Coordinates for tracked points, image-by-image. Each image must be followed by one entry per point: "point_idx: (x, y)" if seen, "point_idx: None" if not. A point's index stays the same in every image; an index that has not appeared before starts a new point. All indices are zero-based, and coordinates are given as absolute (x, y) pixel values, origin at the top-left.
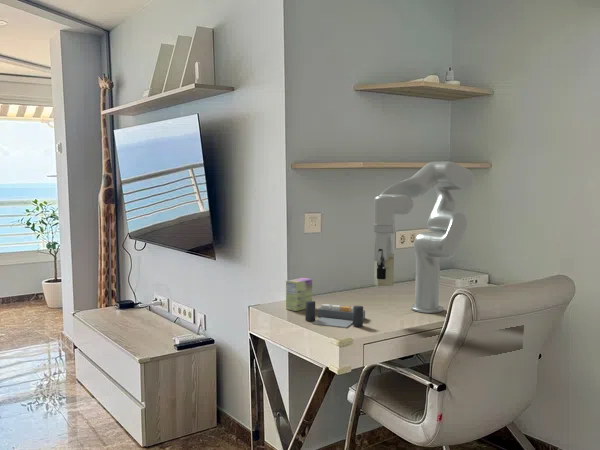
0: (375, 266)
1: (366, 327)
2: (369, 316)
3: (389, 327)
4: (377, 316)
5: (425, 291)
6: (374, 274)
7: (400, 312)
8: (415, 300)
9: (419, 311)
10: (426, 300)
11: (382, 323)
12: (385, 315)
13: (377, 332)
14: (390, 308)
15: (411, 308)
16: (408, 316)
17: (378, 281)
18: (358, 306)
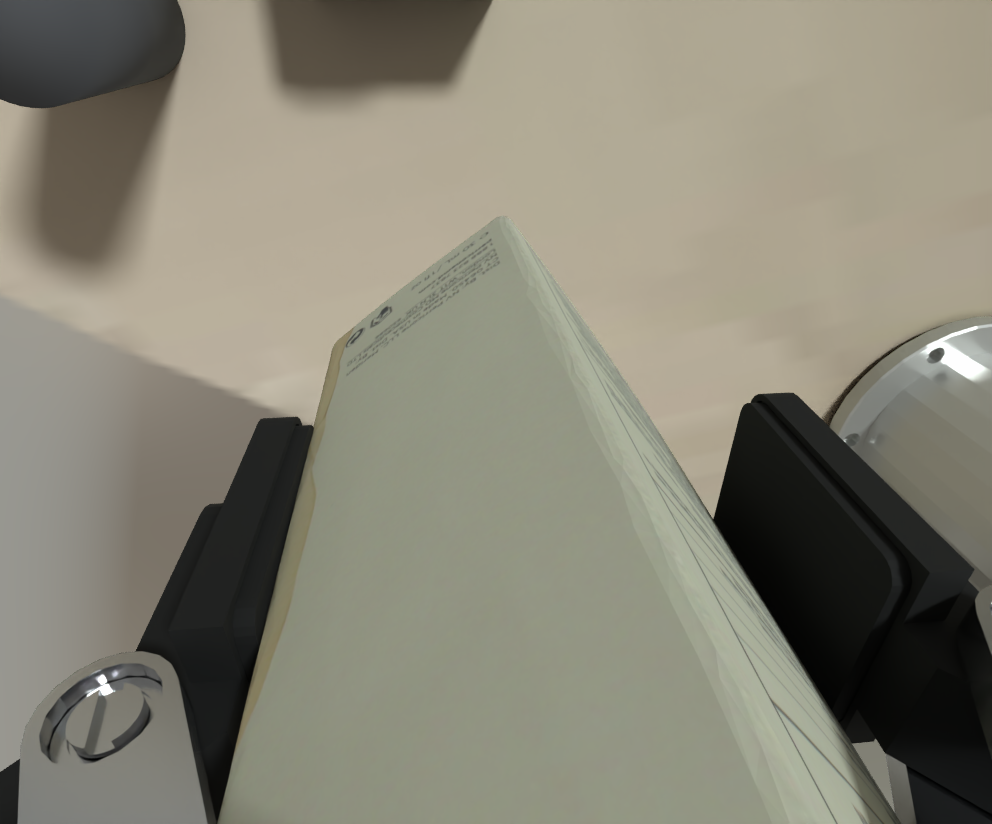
0: (481, 504)
1: (140, 135)
2: (589, 24)
3: (283, 326)
4: (618, 112)
5: (971, 541)
6: (518, 301)
7: (821, 273)
8: (982, 394)
9: (842, 405)
10: (909, 494)
11: (377, 236)
12: (680, 178)
13: (57, 283)
14: (971, 146)
15: (928, 335)
16: (697, 362)
17: (322, 397)
18: (29, 16)
